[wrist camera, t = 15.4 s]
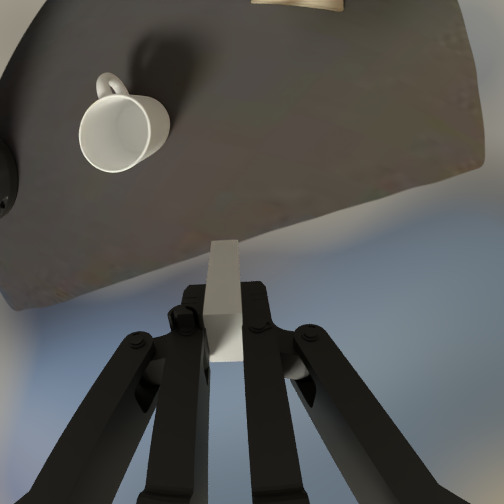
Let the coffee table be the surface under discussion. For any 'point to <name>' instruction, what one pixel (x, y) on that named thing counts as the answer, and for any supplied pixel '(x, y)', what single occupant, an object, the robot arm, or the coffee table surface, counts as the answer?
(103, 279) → the coffee table surface
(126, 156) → the mug
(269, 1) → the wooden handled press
